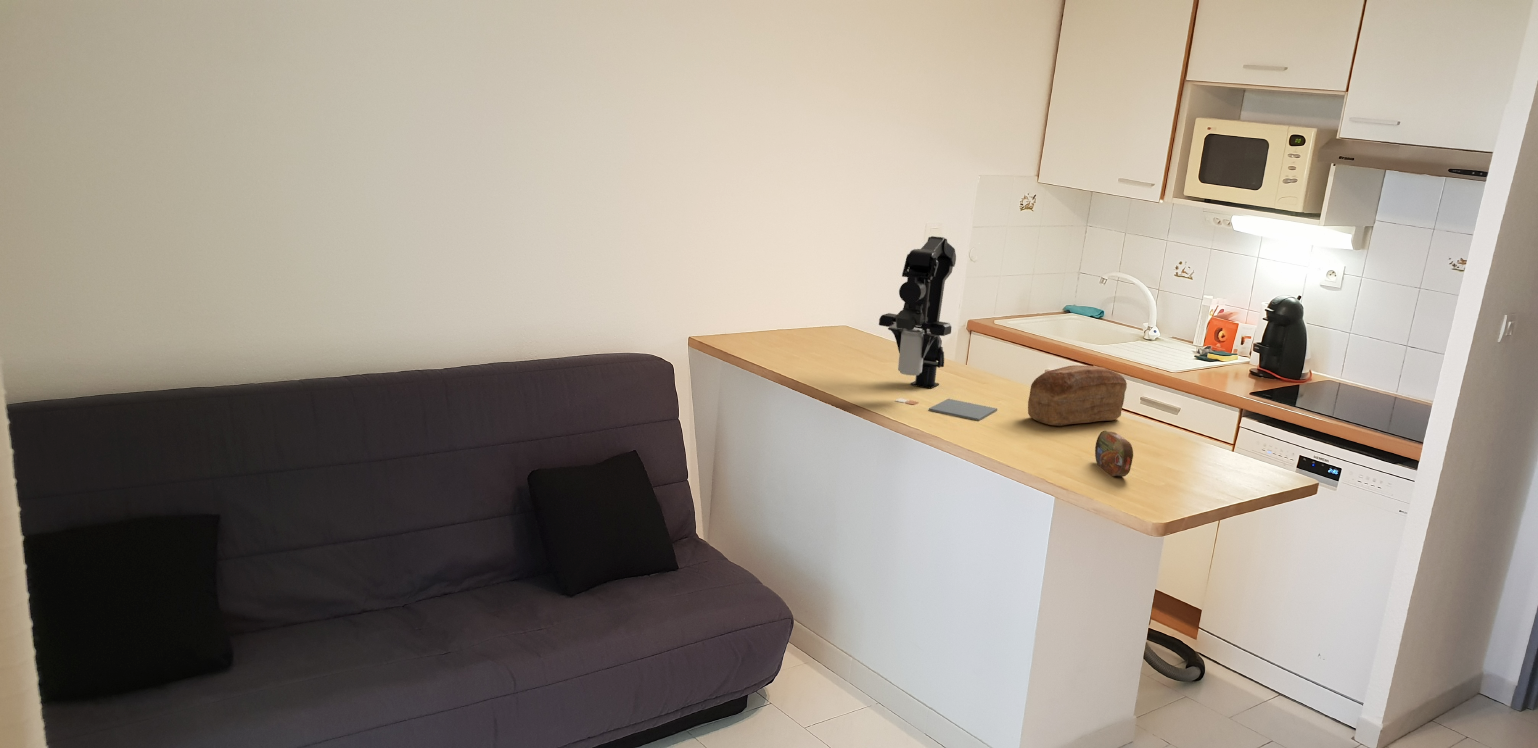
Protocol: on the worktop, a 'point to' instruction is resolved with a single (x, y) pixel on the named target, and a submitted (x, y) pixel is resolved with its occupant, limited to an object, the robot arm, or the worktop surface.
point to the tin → (1113, 453)
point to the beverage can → (911, 352)
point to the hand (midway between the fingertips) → (911, 355)
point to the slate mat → (963, 409)
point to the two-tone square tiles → (906, 401)
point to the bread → (1076, 395)
